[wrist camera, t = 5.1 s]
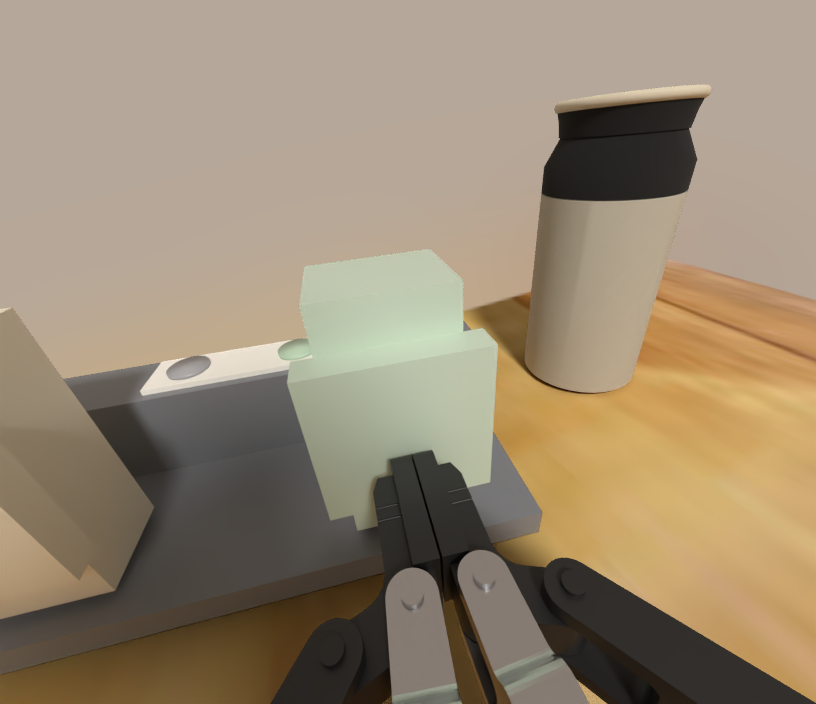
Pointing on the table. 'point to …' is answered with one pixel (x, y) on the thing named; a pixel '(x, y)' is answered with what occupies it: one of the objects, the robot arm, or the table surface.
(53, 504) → the sand key
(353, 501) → the sage key
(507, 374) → the table surface
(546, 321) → the travel mug
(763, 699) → the robot arm
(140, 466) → the console
